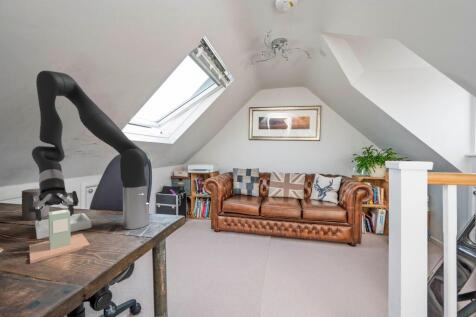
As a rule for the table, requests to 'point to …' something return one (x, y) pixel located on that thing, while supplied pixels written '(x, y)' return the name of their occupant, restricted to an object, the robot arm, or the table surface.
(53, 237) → the sage box
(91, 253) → the table surface
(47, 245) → the terracotta tile
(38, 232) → the grey bin
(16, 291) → the table surface
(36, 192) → the pillar candle
